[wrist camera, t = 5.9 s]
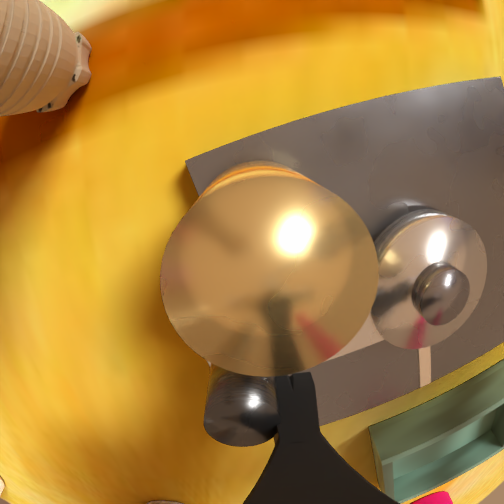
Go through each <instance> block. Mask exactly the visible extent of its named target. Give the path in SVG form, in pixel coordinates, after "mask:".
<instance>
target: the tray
mask: <svg viewBox="0 0 504 504" xmlns="http://www.w3.org/2000/svg"><path fill="white" fill-rule="evenodd" d="M369 432H370V437H371V443H372V448H373V454H374V460H375V466H376V472H377V479H378V484H379V487H380V490H381V492H383V493H384V494H386V495H387V496H389V497H390V498H392V499H393V500H395V501H397V502H398V503H403V502H405V501H408V500H410V499H412V498H415V497H417V496H419V495H422V494H424V493H426V492H428V491H430V490H432V489H435V488H437V487H439V486H441V485H443V484H445V483H447V482H449V481H451V480H453V479H454V478H456V477H458V476H460V475H462V474H464V473H465V472H467V471H469V470H471V469H472V468H474V467H476V466H478V465H479V464H481V463H483V462H484V461H486V460H487V459H489V458H491V457H492V456H494V455H495V454H497V453H498V452H500V451H501V450H503V449H504V359H503V360H501V361H500V362H498V363H497V364H495V365H494V366H492V367H490V368H489V369H487V370H485V371H484V372H482V373H480V374H479V375H477V376H475V377H474V378H472V379H470V380H468V381H467V382H465V383H463V384H461V385H459V386H457V387H456V388H454V389H452V390H450V391H448V392H446V393H444V394H442V395H440V396H438V397H436V398H434V399H432V400H430V401H428V402H426V403H424V404H422V405H420V406H417V407H415V408H413V409H411V410H409V411H406V412H404V413H402V414H399V415H397V416H395V417H392V418H390V419H387V420H385V421H382V422H380V423H377V424H375V425H372V426H370V427H369Z"/></svg>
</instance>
